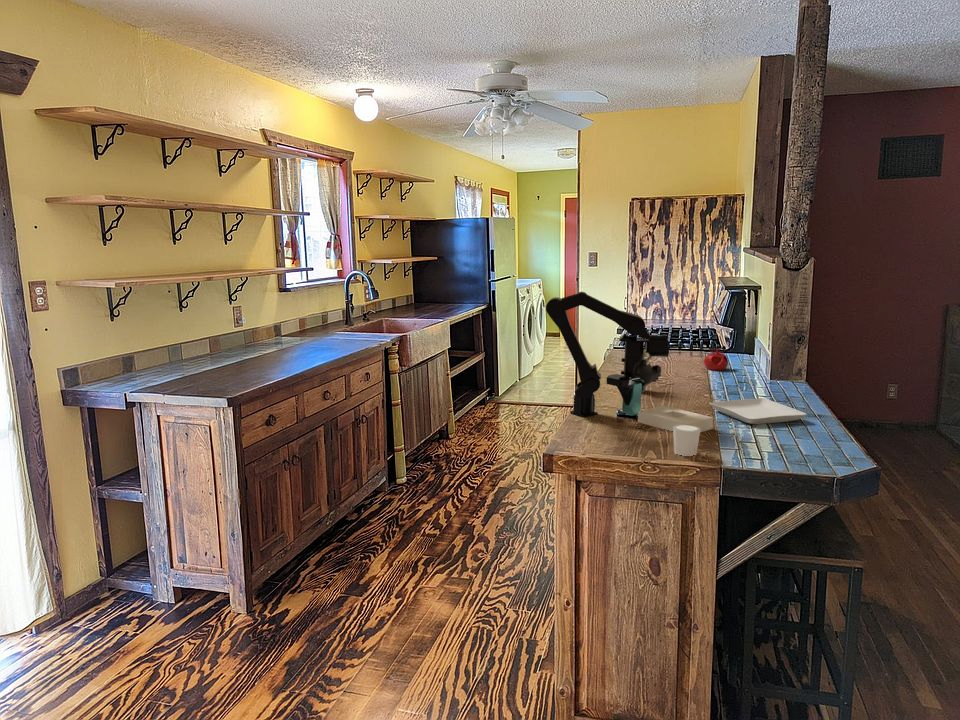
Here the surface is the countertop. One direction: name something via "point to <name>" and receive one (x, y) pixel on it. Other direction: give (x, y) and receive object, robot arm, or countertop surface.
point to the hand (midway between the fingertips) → (631, 404)
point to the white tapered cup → (686, 439)
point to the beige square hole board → (673, 418)
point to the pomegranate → (716, 361)
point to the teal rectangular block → (633, 400)
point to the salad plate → (758, 411)
